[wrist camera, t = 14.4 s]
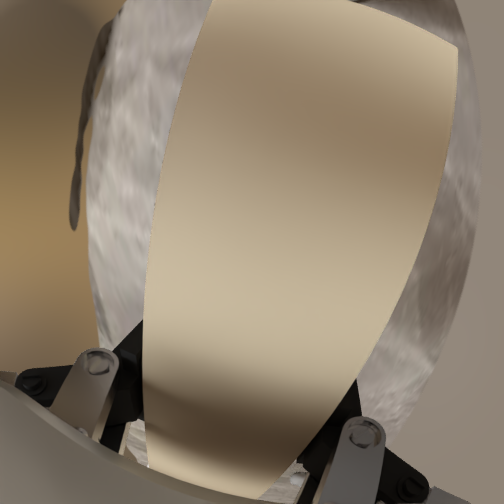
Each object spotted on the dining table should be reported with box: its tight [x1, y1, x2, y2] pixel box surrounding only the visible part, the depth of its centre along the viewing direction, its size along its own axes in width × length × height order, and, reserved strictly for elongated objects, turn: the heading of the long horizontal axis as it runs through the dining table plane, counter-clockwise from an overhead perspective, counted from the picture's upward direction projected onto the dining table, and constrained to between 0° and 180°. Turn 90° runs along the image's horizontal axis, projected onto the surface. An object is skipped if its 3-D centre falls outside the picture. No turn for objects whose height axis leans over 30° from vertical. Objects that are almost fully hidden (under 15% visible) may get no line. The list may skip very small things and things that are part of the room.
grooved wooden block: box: [142, 0, 458, 500], centre depth 9 cm, size 20×4×6 cm, turn 166°
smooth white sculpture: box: [290, 472, 306, 486], centre depth 47 cm, size 4×8×5 cm
